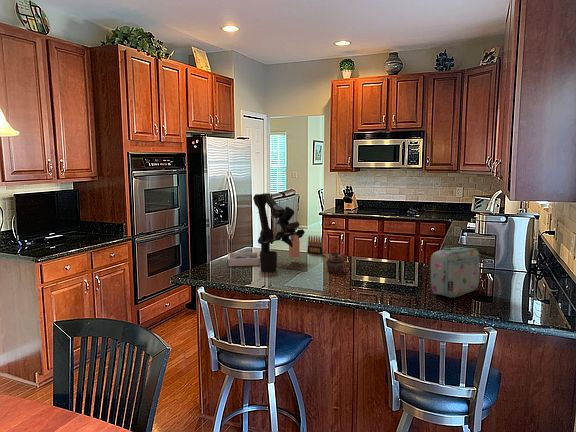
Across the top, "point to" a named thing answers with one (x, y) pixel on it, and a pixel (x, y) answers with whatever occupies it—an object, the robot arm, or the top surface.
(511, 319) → the top surface
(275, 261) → the pen holder
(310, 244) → the ammunition clip
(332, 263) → the cupcake
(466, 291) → the lunch box
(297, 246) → the post
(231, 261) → the tray
